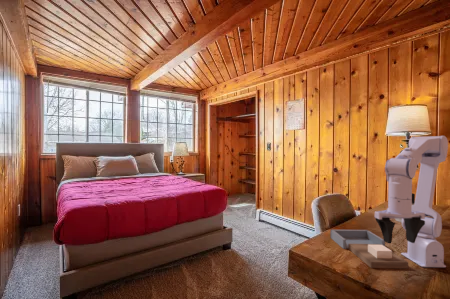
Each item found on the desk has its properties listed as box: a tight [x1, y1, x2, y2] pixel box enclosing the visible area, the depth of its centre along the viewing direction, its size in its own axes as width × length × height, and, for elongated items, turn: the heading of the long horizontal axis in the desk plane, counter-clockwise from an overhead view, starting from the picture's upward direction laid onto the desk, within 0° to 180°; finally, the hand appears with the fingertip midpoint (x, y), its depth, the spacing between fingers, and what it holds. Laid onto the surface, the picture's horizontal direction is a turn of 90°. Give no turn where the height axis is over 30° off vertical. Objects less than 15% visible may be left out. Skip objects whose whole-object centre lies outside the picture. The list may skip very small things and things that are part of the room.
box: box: [330, 229, 386, 250], centre depth 94 cm, size 11×16×4 cm
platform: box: [348, 244, 409, 269], centre depth 82 cm, size 14×12×2 cm
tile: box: [368, 245, 393, 258], centre depth 80 cm, size 5×5×2 cm
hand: (399, 241), depth 70 cm, fingers open, 7 cm apart
